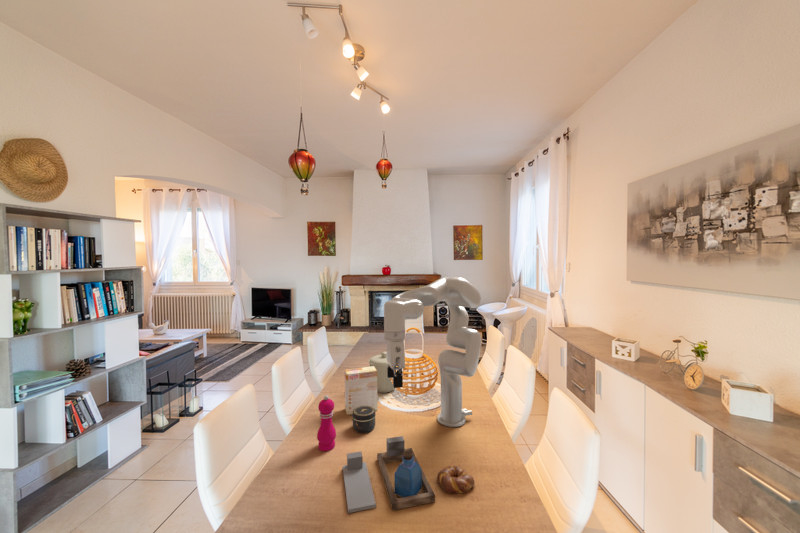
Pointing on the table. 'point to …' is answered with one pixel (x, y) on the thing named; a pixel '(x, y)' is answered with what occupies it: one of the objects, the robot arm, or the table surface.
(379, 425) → the table surface
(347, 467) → the grey l-shaped piece
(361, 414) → the jar
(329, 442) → the pepper mill
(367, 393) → the coffeecake box
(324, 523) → the table surface
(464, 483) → the pretzel
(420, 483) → the perfume bottle
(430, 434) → the table surface
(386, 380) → the canister
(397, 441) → the rectangular wooden frame
